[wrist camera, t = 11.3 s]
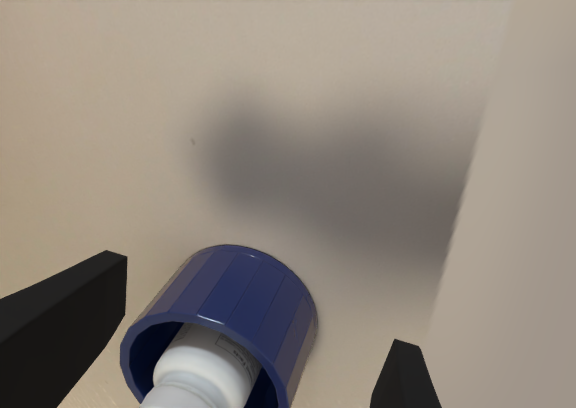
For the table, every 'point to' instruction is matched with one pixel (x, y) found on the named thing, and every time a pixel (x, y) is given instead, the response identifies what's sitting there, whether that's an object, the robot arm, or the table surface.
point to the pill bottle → (202, 371)
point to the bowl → (229, 320)
